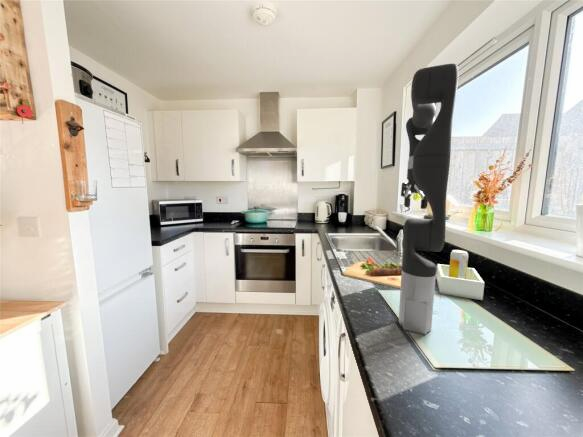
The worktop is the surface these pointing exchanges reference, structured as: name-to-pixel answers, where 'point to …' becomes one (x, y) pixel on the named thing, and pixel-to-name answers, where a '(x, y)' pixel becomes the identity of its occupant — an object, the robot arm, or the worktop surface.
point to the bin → (460, 283)
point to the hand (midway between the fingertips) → (415, 207)
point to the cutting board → (376, 273)
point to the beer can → (458, 264)
